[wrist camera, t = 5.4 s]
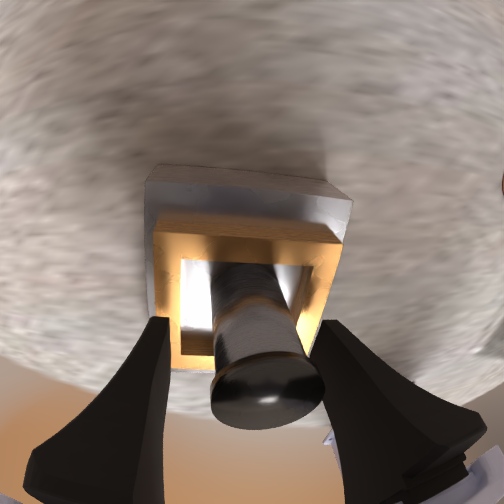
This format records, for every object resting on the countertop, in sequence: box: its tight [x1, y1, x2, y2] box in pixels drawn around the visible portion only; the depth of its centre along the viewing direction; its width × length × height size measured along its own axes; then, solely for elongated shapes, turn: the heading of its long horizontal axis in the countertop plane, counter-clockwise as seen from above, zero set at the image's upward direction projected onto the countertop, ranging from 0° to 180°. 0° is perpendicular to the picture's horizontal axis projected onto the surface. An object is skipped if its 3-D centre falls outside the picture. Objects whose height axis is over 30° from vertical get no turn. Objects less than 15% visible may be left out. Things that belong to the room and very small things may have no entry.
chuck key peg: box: [210, 264, 325, 430], centre depth 10 cm, size 3×3×6 cm
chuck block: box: [144, 164, 353, 373], centre depth 14 cm, size 10×8×4 cm
